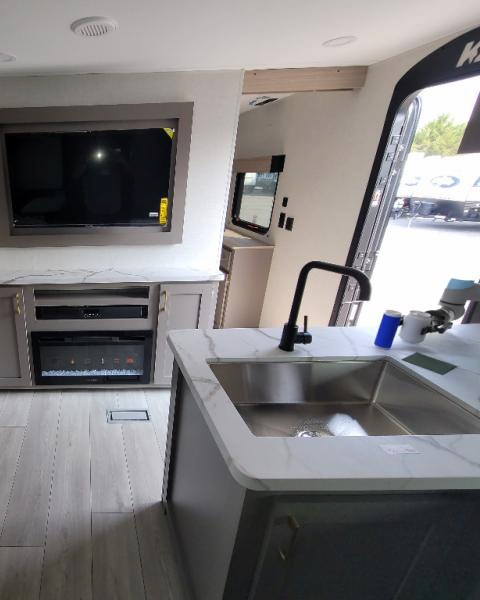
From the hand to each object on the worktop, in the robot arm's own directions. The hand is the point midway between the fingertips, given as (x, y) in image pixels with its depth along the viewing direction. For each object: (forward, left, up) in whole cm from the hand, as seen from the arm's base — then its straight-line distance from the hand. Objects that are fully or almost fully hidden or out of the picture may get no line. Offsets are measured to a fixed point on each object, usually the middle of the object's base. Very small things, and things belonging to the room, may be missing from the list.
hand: (408, 327), depth 129 cm
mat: (-11, +10, -7) cm, 17 cm away
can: (0, -5, -7) cm, 8 cm away
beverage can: (+3, +10, -7) cm, 13 cm away
